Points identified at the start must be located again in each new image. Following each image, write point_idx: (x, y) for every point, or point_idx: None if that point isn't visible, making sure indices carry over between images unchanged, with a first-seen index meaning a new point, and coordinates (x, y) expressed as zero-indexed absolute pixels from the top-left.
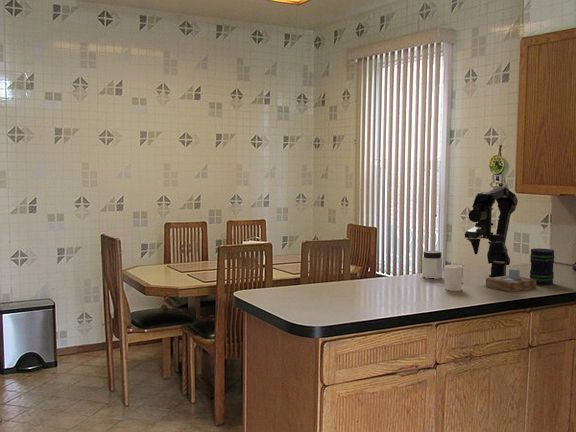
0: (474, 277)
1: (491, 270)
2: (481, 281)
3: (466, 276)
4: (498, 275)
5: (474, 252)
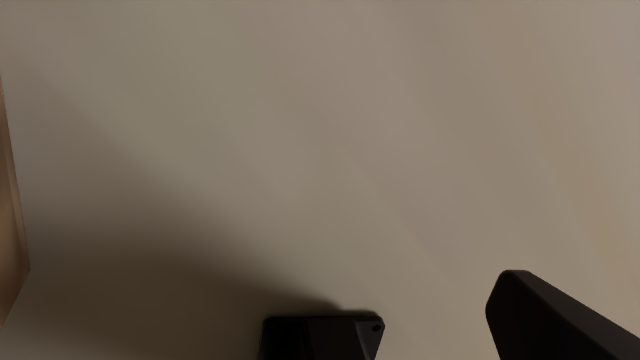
0: (446, 198)
1: (358, 357)
2: (274, 91)
3: (525, 176)
4: (288, 348)
5: (559, 292)
